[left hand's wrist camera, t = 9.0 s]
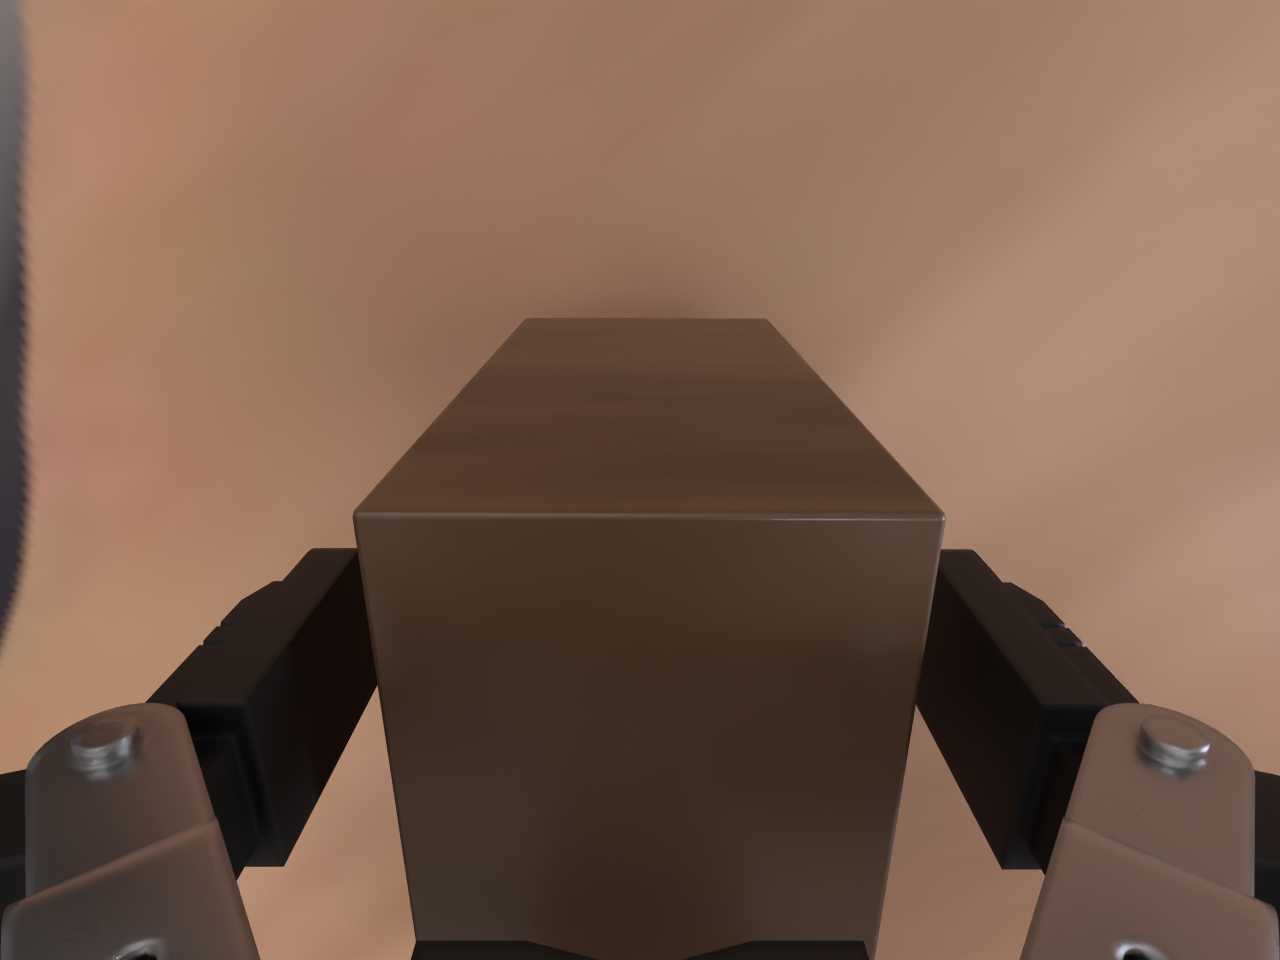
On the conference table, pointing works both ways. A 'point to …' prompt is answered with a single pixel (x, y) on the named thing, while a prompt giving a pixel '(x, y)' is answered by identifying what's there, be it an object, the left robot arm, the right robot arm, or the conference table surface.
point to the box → (647, 644)
